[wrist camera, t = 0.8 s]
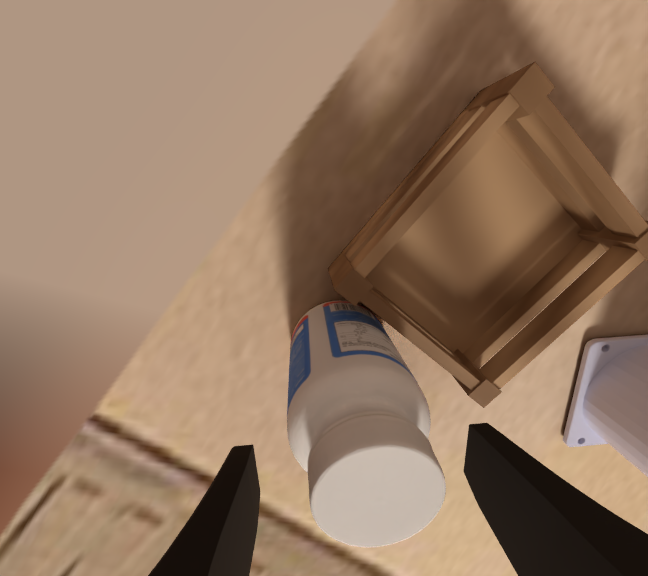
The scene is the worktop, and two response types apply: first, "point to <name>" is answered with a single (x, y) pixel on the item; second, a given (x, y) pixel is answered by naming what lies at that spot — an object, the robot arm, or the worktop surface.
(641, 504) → the worktop surface
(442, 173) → the crate
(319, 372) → the pill bottle
